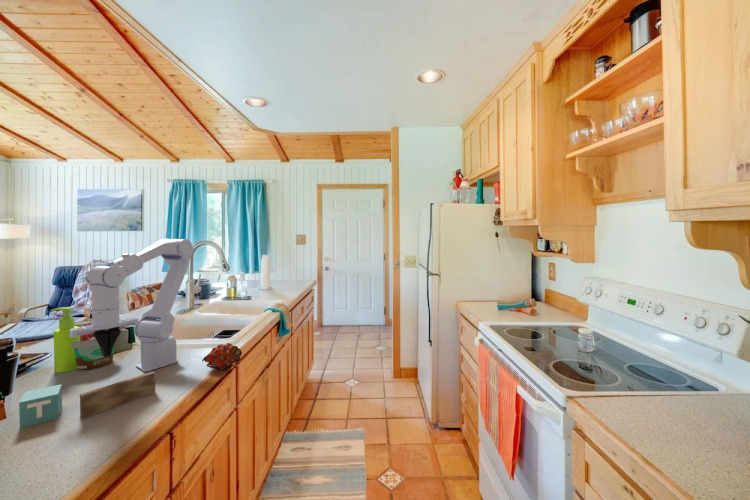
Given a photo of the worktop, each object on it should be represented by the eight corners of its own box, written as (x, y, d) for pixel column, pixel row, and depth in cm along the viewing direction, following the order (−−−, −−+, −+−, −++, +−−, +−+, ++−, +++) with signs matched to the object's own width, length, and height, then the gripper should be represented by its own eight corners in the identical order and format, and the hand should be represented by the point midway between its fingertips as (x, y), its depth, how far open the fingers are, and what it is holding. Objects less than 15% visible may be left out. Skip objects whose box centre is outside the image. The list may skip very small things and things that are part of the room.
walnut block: (152, 390, 84) (152, 371, 84) (155, 392, 83) (155, 372, 83) (80, 416, 72) (79, 394, 71) (82, 418, 71) (81, 396, 71)
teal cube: (62, 407, 76) (61, 384, 75) (58, 418, 71) (57, 394, 71) (26, 416, 72) (25, 391, 71) (19, 429, 67) (18, 403, 67)
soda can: (97, 354, 108) (97, 322, 108) (70, 361, 102) (69, 326, 102) (91, 350, 112) (90, 318, 111) (64, 356, 106) (64, 323, 105)
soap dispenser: (63, 364, 99) (61, 305, 98) (85, 364, 100) (84, 305, 99) (45, 372, 93) (43, 309, 93) (69, 372, 94) (67, 309, 93)
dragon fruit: (245, 369, 102) (205, 380, 97) (242, 348, 108) (204, 358, 103) (242, 355, 97) (200, 367, 92) (239, 334, 103) (199, 344, 98)
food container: (86, 374, 93) (86, 343, 92) (71, 372, 94) (70, 341, 93) (127, 359, 105) (126, 331, 104) (113, 357, 106) (112, 329, 106)
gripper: (131, 302, 93) (132, 344, 93) (65, 311, 80) (66, 360, 81) (141, 305, 89) (141, 349, 89) (73, 315, 77) (74, 367, 77)
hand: (106, 355), depth 85 cm, fingers closed
